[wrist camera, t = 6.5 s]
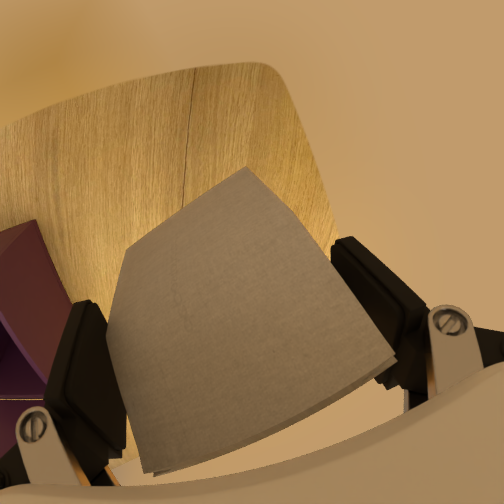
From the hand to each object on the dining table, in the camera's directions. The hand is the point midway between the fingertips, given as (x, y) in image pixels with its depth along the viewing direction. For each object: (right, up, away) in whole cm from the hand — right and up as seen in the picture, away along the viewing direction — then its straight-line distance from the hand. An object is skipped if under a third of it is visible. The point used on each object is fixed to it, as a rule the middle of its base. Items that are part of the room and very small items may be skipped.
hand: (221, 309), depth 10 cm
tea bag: (-1, +3, +5) cm, 6 cm away
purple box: (-29, -3, +21) cm, 36 cm away
